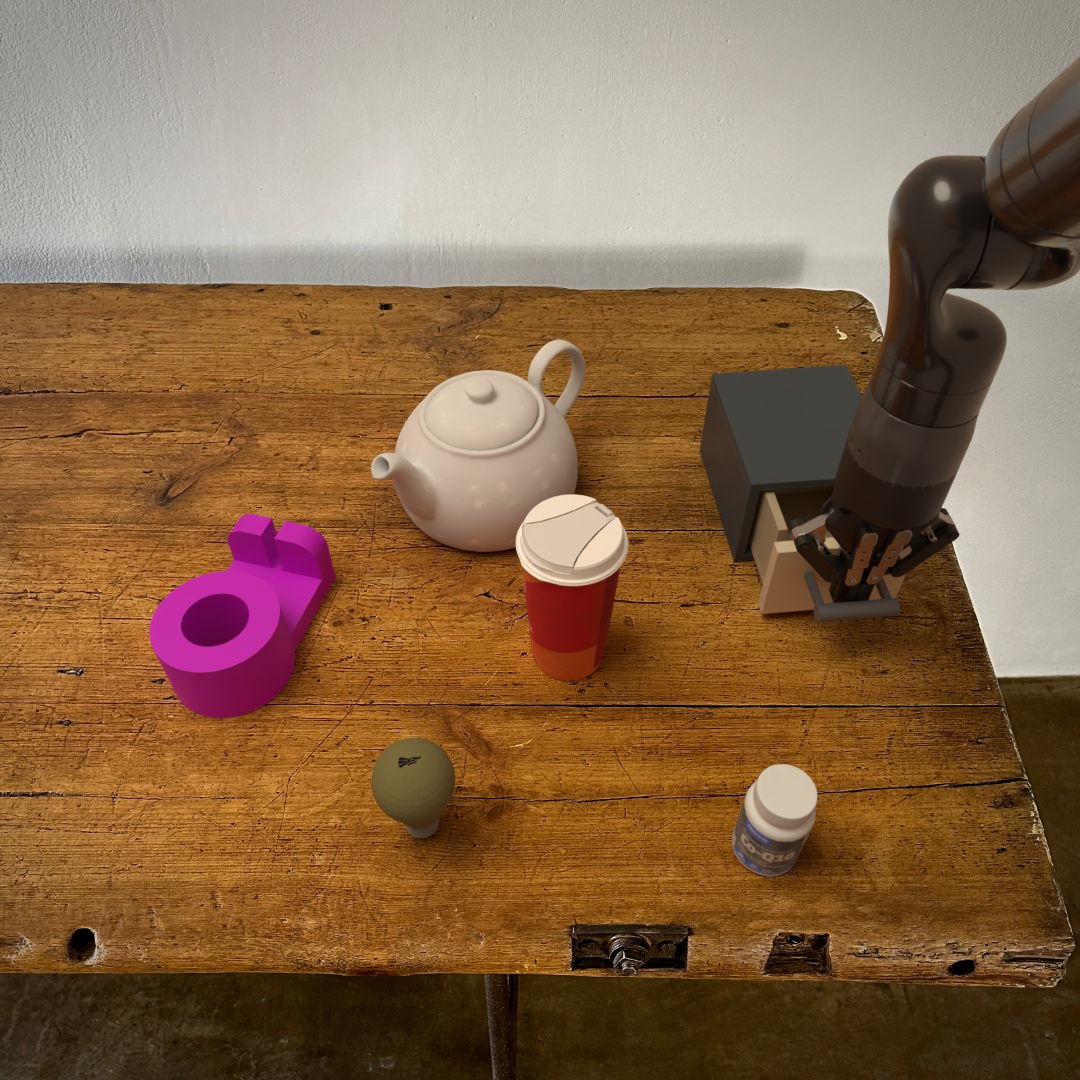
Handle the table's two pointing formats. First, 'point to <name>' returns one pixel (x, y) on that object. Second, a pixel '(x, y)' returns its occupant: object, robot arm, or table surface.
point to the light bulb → (414, 784)
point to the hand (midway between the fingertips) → (845, 603)
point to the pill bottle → (775, 820)
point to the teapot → (485, 453)
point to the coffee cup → (570, 581)
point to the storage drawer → (792, 575)
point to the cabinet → (773, 438)
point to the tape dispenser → (243, 618)
